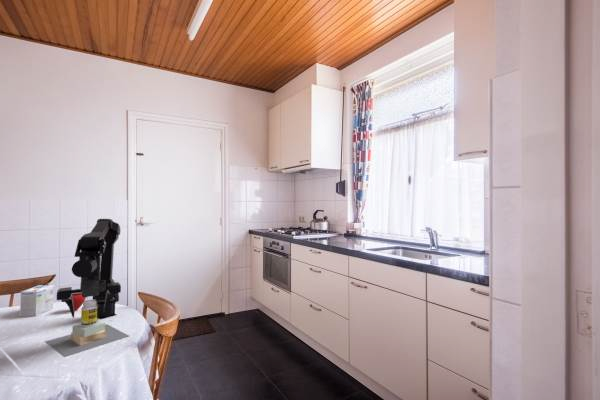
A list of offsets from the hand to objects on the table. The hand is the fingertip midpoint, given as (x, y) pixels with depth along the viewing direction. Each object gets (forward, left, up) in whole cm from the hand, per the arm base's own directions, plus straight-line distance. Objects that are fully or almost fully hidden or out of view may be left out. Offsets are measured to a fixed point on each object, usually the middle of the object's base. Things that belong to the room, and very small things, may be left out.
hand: (89, 314), depth 111 cm
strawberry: (-9, -38, -9) cm, 40 cm away
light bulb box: (+2, -48, -9) cm, 49 cm away
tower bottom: (0, 0, -8) cm, 8 cm away
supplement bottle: (0, 0, -4) cm, 4 cm away
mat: (0, 0, -9) cm, 9 cm away
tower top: (0, 0, -6) cm, 6 cm away
